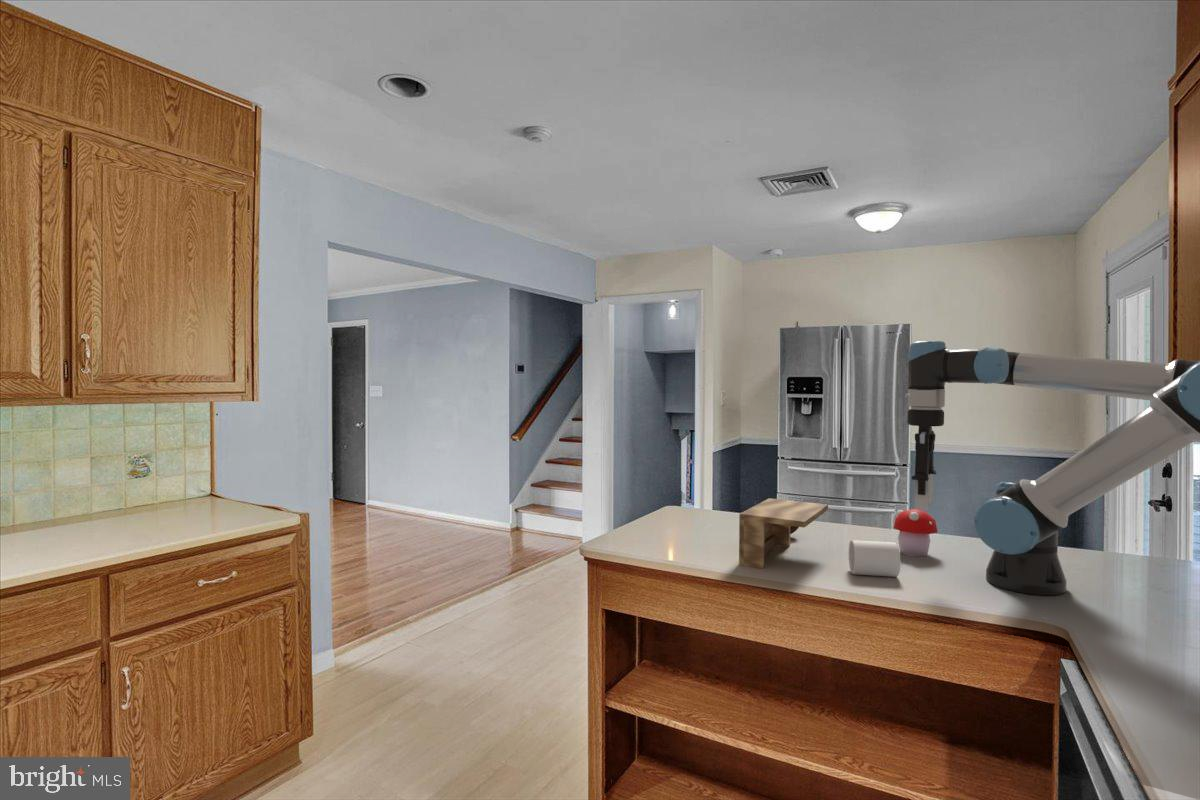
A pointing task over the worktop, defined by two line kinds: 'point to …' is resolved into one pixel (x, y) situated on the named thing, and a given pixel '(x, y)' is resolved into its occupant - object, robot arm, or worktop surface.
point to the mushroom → (914, 531)
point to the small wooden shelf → (772, 527)
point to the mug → (874, 558)
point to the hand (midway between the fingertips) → (923, 505)
